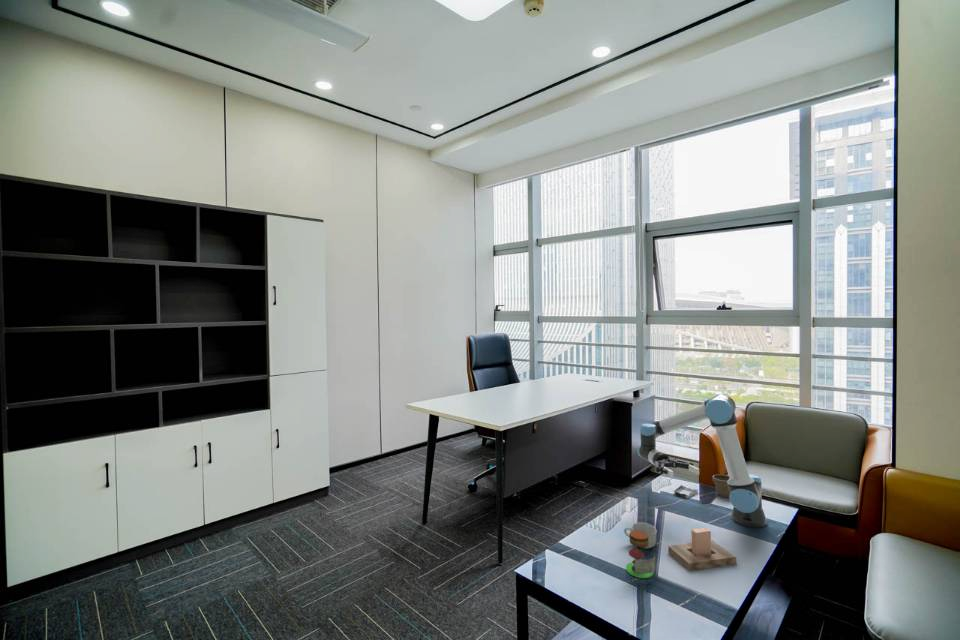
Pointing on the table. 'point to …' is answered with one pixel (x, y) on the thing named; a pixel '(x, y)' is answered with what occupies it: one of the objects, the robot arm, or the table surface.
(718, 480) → the flower pot
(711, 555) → the slotted rack
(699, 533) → the salmon rectangular block
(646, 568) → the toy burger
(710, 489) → the table surface
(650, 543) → the teacup
